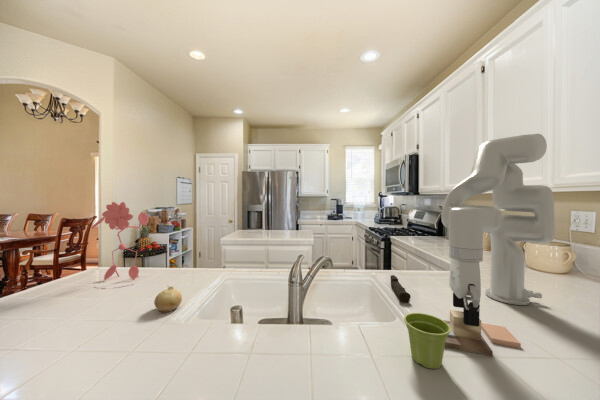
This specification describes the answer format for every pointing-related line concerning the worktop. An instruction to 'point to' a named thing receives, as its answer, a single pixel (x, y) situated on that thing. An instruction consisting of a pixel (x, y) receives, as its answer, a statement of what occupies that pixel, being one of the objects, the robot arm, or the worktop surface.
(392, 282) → the hand tool
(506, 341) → the tile
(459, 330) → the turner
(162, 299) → the onion
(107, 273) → the figurine
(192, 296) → the worktop surface
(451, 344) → the board
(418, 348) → the plant pot
